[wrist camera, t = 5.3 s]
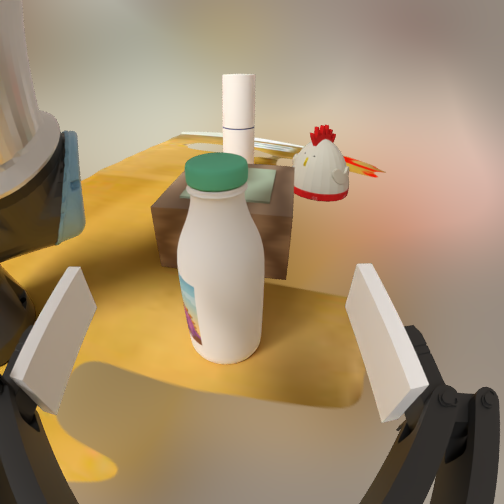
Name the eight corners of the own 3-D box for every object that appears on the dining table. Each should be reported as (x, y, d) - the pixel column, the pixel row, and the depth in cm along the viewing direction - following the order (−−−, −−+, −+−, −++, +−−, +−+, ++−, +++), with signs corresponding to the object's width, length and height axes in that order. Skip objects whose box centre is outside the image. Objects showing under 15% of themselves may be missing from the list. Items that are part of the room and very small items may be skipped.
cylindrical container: (221, 181, 68) (219, 75, 53) (226, 171, 74) (225, 74, 59) (252, 182, 68) (254, 74, 53) (254, 171, 73) (256, 74, 59)
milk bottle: (267, 319, 35) (278, 149, 23) (251, 373, 29) (256, 184, 17) (205, 307, 36) (189, 143, 24) (181, 356, 30) (141, 175, 18)
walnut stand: (161, 266, 42) (150, 205, 36) (196, 208, 57) (193, 160, 51) (285, 279, 40) (292, 215, 35) (290, 216, 55) (294, 165, 49)
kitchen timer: (275, 184, 67) (278, 121, 58) (314, 173, 74) (319, 117, 66) (322, 207, 59) (331, 135, 50) (358, 192, 66) (368, 131, 57)
